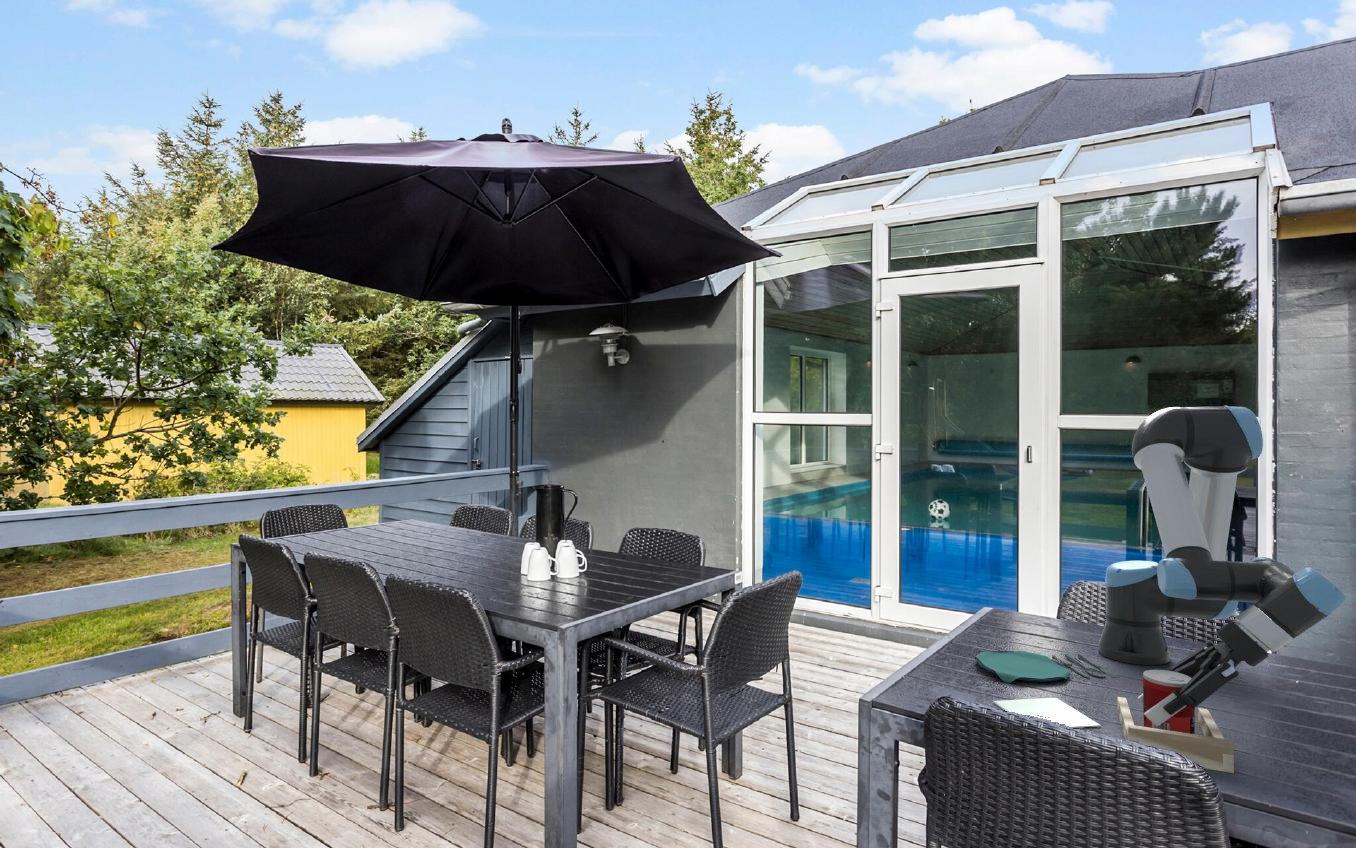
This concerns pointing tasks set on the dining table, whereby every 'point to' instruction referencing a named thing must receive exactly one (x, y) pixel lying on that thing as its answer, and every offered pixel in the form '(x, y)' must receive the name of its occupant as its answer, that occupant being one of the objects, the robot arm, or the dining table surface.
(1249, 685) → the dining table surface
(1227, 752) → the shelf lane
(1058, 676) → the cutlery set
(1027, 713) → the pad
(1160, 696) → the canned food
